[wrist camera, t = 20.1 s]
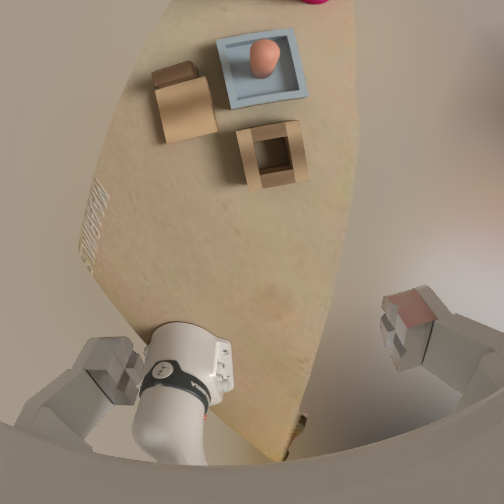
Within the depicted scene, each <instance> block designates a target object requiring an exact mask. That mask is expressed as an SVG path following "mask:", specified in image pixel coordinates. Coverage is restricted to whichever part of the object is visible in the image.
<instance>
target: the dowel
mask: <svg viewBox="0 0 504 504" xmlns="http://www.w3.org/2000/svg"><path fill="white" fill-rule="evenodd" d="M279 56H280V49H279V47H278V45H277V44H276V43H275V42H273V41H271V40H268V39H261V40H258V41H256V42H254V43H253V44H252V46H251V48H250V70H251V73H252V75H253V76H254V77H256V78H258V79H266V78H268V77H269V76H271V74H272V72H273V70H274V68H275V65H276V63H277V61H278V58H279Z"/></svg>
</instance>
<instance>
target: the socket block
mask: <svg viewBox="0 0 504 504" xmlns="http://www.w3.org/2000/svg"><path fill="white" fill-rule="evenodd" d="M236 135H237V140H238V144H239V149H240V153H241V158H242V163H243V167H244V172H245V176H246V181H247V186H248V190H249V191H253V190H258V189H263V188H269V187H274V186H280V185H285V184H291V183H297V182H303V181H309V176H308V169H307V163H306V157H305V151H304V145H303V139H302V133H301V128H300V123H299V120H293V121H286V122H280V123H274V124H268V125H262V126H257V127H252V128H247V129H242V130H237V131H236ZM279 137H285V142H286V148H287V153H288V159H289V164H290V165H284V166H279V167H273V168H267V169H262V170H259V168H258V163H257V158H256V153H255V149H254V144H253V142H257V141H262V140H268V139H273V138H279Z"/></svg>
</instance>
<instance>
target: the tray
mask: <svg viewBox="0 0 504 504" xmlns="http://www.w3.org/2000/svg"><path fill="white" fill-rule="evenodd" d="M261 39H268V40H271V41H273V42H275V43H276V44H277V45H278V47H279V49H280V56H279V58H278V61H277V63H276V65H275V68H274V70H273V72H272V74H271V76H269V77H268V78H266V79H258V78H256V77H254V76H253V75H252V73H251V70H250V48H251V46H252V44H253V43H254V42H256V41H258V40H261ZM216 44H217V48H218V52H219V57H220V61H221V66H222V70H223V74H224V79H225V83H226V88H227V92H228V97H229V101H230V106H231V109H232V110H235V109H240V108H245V107H250V106H256V105H261V104H267V103H273V102H279V101H286V100H293V99H301V98H306V97H308V96H309V95H308V90H307V86H306V81H305V76H304V72H303V67H302V63H301V59H300V54H299V50H298V46H297V42H296V38H295V34H294V30H293V28H289V29H279V30H271V31H264V32H257V33H251V34H245V35H239V36H234V37H229V38H225V39H220V40H216Z"/></svg>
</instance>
